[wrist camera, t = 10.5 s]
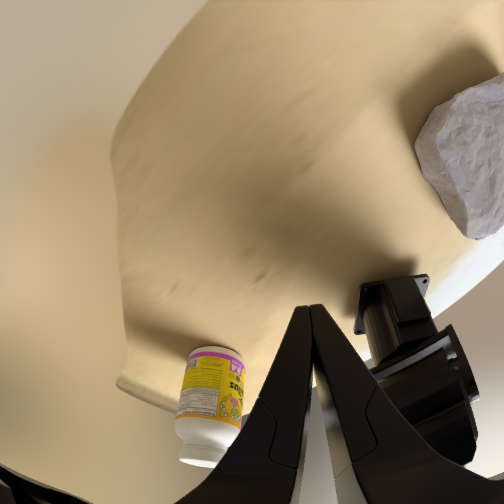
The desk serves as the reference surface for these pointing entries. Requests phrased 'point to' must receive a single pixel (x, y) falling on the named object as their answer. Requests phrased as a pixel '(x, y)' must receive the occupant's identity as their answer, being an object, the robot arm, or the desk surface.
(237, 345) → the desk surface
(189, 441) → the supplement bottle
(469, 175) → the stone block
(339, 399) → the robot arm
